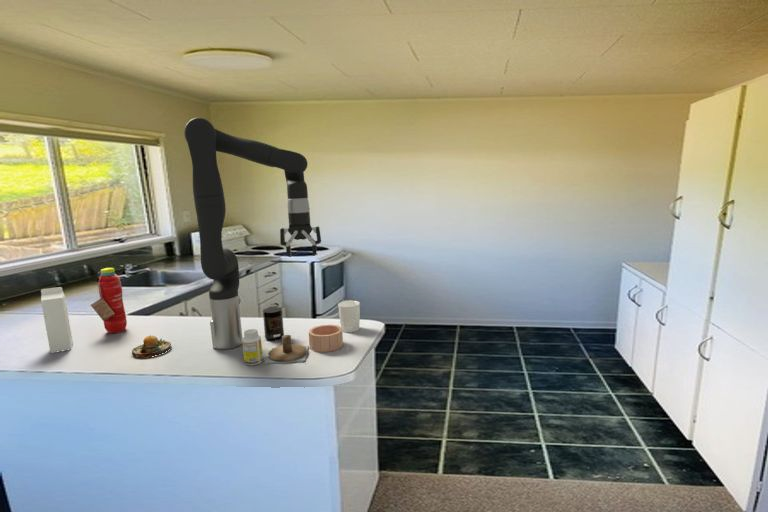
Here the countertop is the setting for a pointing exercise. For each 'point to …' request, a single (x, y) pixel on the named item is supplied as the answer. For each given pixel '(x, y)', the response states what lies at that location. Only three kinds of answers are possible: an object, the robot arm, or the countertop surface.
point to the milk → (56, 319)
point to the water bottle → (110, 302)
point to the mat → (288, 361)
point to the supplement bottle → (252, 347)
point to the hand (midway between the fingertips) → (302, 256)
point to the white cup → (349, 315)
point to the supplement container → (273, 323)
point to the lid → (287, 351)
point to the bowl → (325, 338)
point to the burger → (151, 347)
